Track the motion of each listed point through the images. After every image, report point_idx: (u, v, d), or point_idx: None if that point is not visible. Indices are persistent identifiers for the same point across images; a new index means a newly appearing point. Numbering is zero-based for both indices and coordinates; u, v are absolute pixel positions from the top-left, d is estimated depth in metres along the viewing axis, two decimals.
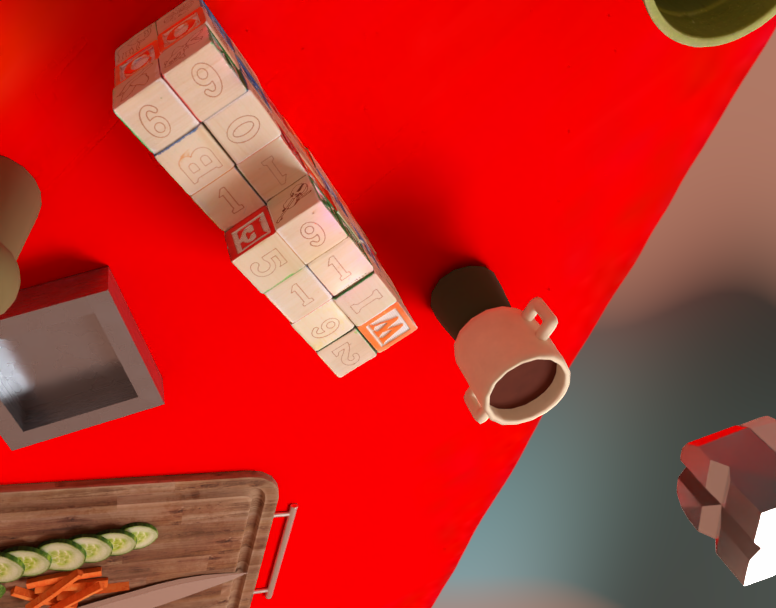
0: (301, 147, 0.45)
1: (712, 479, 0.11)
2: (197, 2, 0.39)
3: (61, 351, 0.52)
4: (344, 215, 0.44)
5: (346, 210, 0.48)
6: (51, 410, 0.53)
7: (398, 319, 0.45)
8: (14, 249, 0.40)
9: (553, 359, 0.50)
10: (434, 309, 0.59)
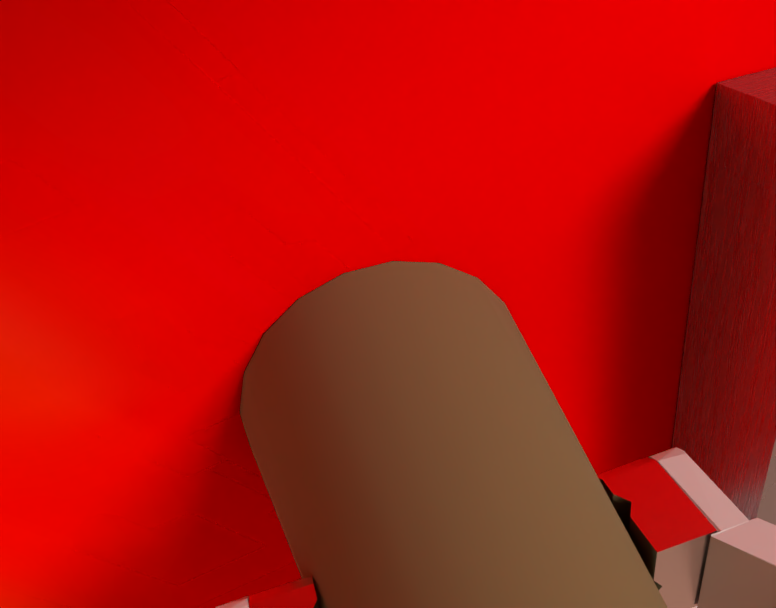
0: None
1: (617, 513, 0.11)
2: None
3: None
4: None
5: None
6: None
7: None
8: (563, 603, 0.08)
9: None
10: None
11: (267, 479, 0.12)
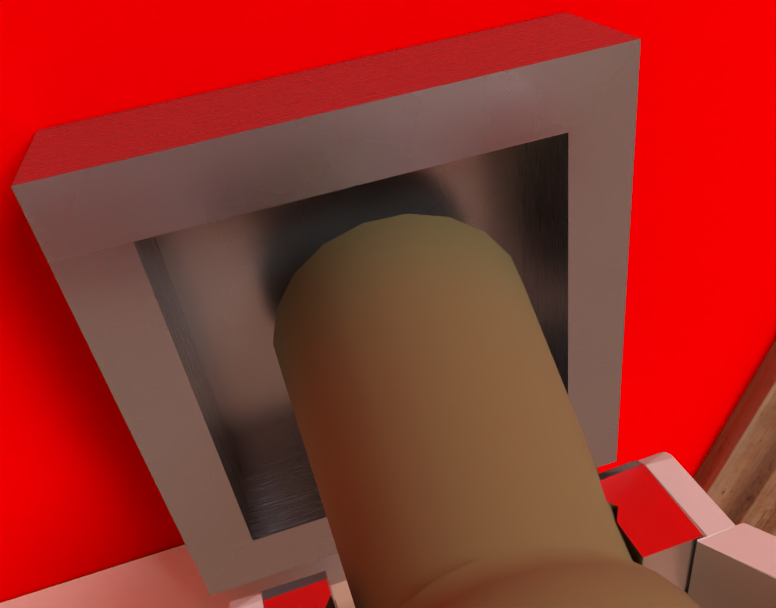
0: None
1: None
2: None
3: None
4: None
5: None
6: None
7: None
8: (508, 483, 0.10)
9: None
10: None
11: (290, 396, 0.14)
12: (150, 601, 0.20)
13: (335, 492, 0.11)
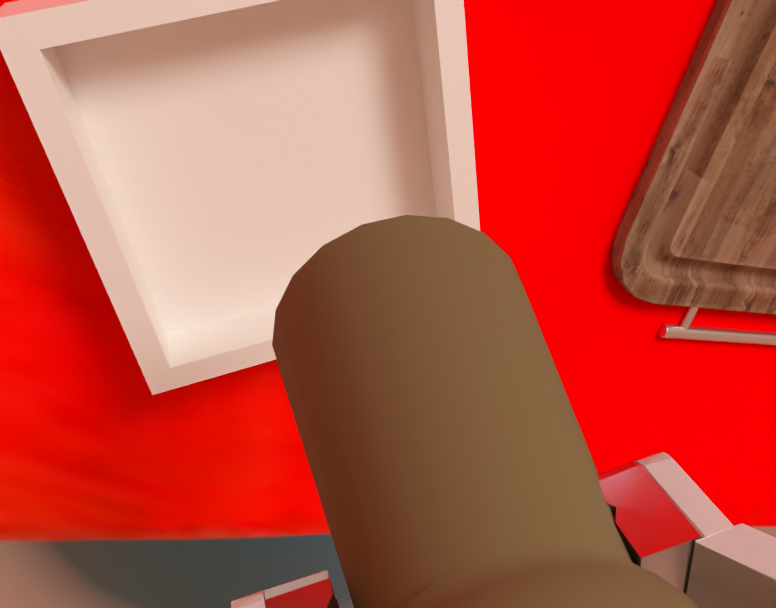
0: None
1: None
2: None
3: None
4: None
5: None
6: None
7: None
8: (507, 485, 0.10)
9: None
10: None
11: (289, 398, 0.14)
12: None
13: (334, 494, 0.11)
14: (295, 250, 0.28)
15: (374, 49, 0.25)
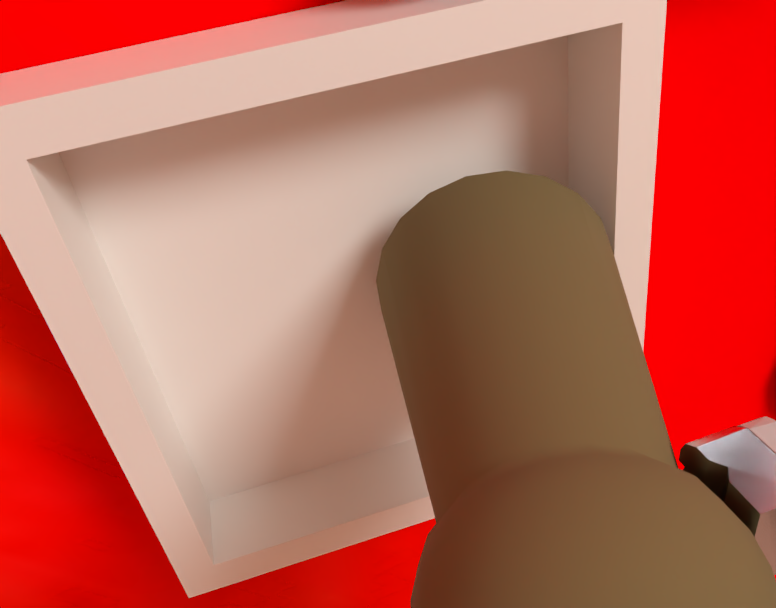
0: None
1: (711, 480, 0.11)
2: None
3: None
4: None
5: None
6: None
7: None
8: (572, 394, 0.11)
9: None
10: None
11: (388, 324, 0.16)
12: (331, 18, 0.14)
13: (421, 398, 0.13)
14: (382, 391, 0.21)
15: (509, 129, 0.18)
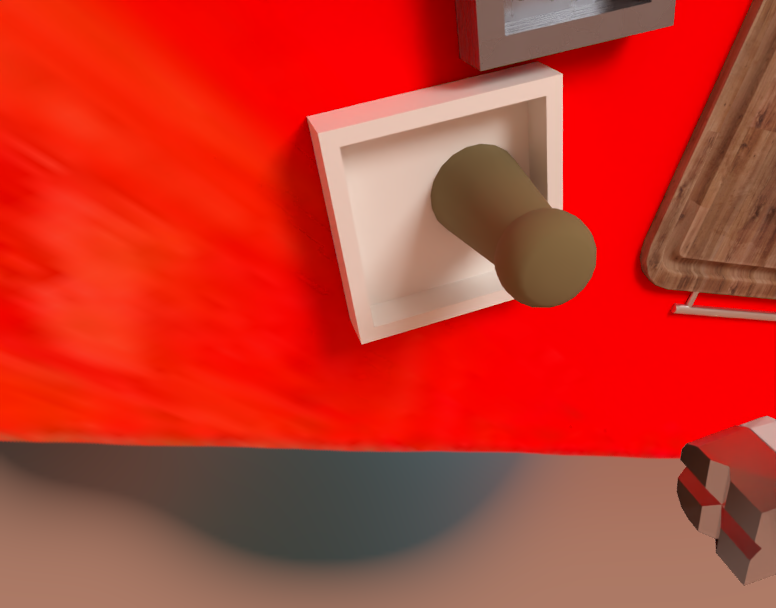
0: None
1: (712, 479, 0.11)
2: None
3: None
4: None
5: None
6: None
7: None
8: (529, 201, 0.37)
9: None
10: None
11: (445, 206, 0.41)
12: (439, 94, 0.38)
13: (476, 217, 0.38)
14: (445, 254, 0.45)
15: (503, 134, 0.42)
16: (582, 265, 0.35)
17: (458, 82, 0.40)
